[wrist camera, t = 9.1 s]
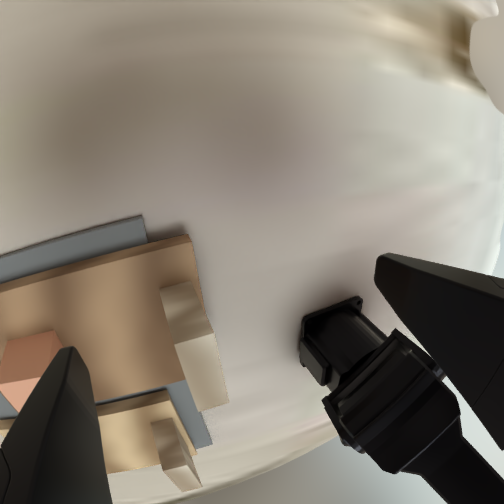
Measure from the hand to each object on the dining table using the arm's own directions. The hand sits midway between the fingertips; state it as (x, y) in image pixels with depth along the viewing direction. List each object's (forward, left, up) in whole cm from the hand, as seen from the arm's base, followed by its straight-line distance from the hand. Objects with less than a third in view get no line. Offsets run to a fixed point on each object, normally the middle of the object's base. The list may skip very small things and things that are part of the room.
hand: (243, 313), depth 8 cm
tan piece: (+13, +21, -12) cm, 27 cm away
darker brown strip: (+8, +8, -12) cm, 17 cm away
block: (+11, +8, -10) cm, 17 cm away
